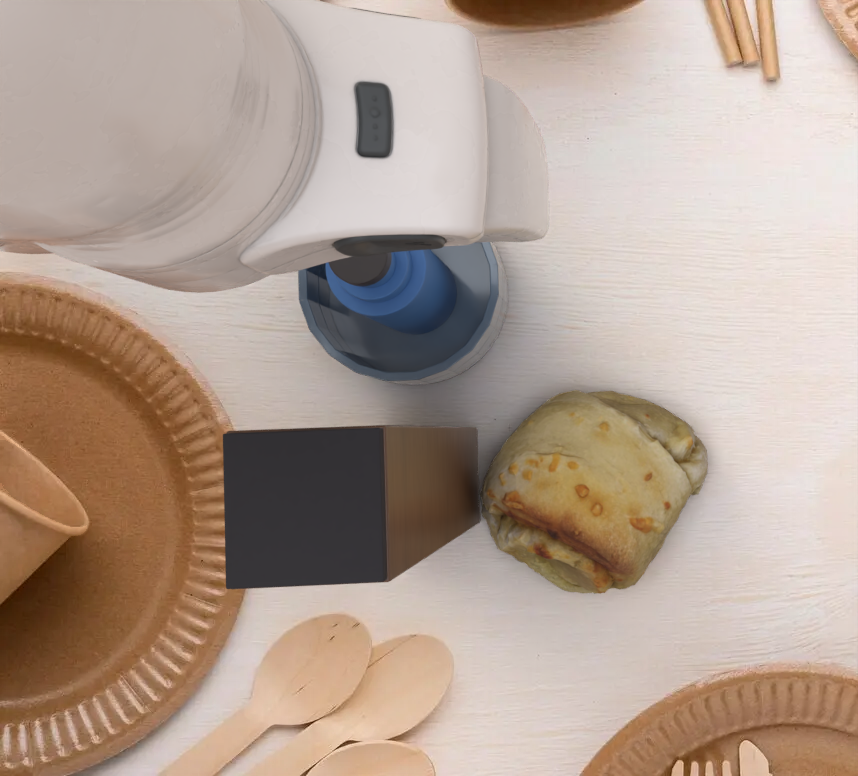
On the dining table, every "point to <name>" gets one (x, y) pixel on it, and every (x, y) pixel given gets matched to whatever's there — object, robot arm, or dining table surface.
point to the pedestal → (423, 489)
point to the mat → (304, 508)
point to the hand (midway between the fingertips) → (318, 226)
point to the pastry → (592, 488)
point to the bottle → (396, 289)
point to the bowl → (414, 353)
